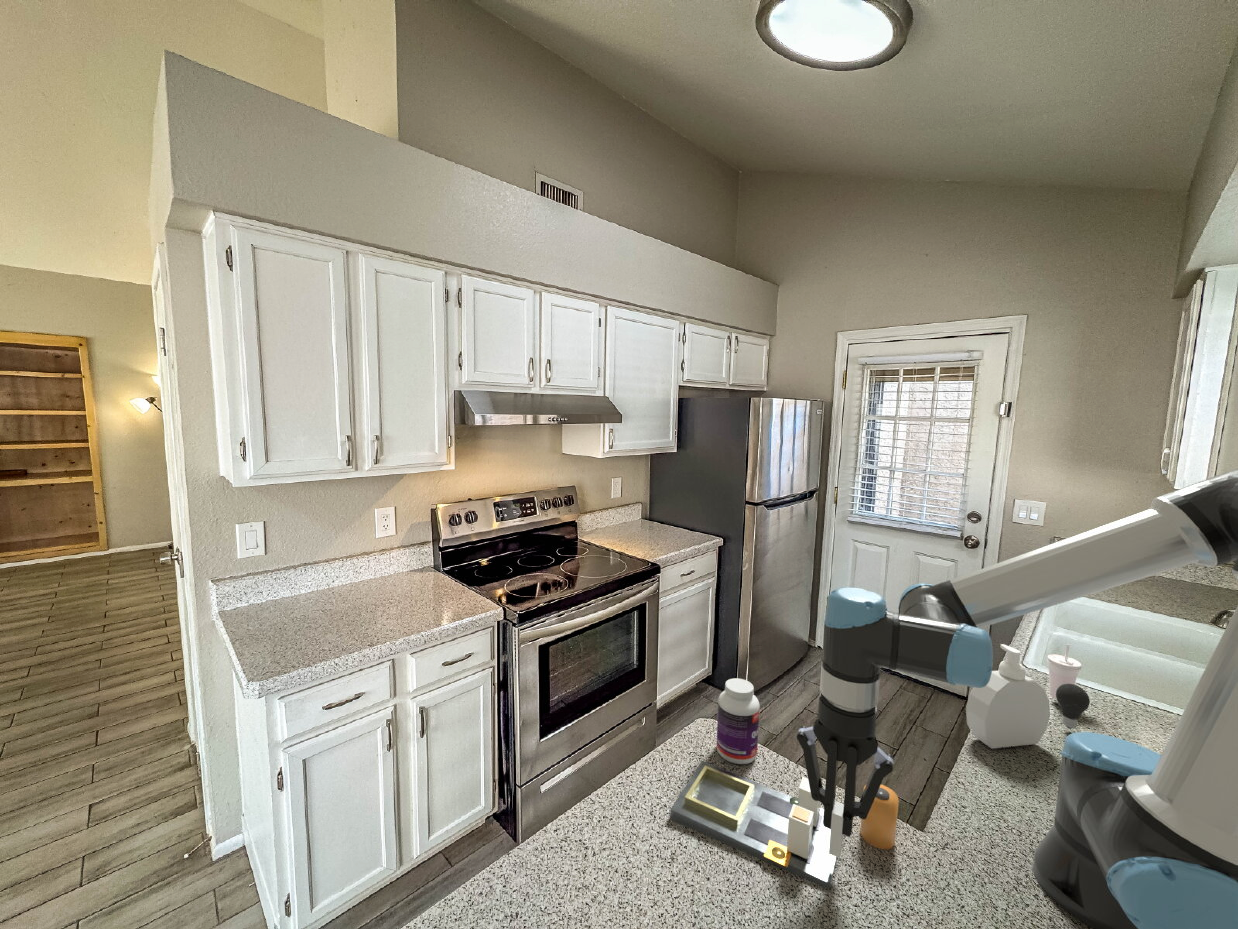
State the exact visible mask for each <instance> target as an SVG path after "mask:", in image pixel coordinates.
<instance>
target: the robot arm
mask: <svg viewBox="0 0 1238 929" xmlns="http://www.w3.org/2000/svg"><path fill="white" fill-rule="evenodd" d="M1231 562H1234V564H1233V567H1232V568H1231V573H1232V574H1233V576H1234V577H1235V579H1236V580H1237V581H1238V468H1236V469H1232V470H1229V471H1227V472H1224V473H1221V474H1218V475H1215V476H1211V477H1209V478H1206V479H1204V480H1200V481H1198V482H1194V483H1193V484H1189V485H1187V486H1184V487H1182V488H1178V489H1176V490H1173V491H1171V492H1168V493H1165V494H1162V495H1160V496H1157V497H1154V498H1152V502H1151V503H1150V506H1149V508H1148V509H1146V510H1143V511H1140V512H1138V513H1134V514H1132V515H1130V516H1126V517H1124V518H1121V519H1117V520H1115V521H1112V522H1109V523H1107V524H1104V525H1101V526H1098V527H1095V528H1092V529H1090V530H1087V531H1084V532H1082V533H1079V534H1078V533H1077V534H1075V535H1073V536H1070V537H1067V538H1064V539H1061V540H1058V541H1057V542H1056V541H1055V542H1053V543H1051V544H1047V545H1045V546H1042V547H1039V548H1036V549H1034V550H1031V551H1028V552H1025V553H1023V554H1020V555H1017V556H1015V557H1012V558H1011V557H1010V558H1008V559H1005V560H1002V561H1000V562H997V563H994V564H991V565H989V566H986V567H984V568H981V569H977V570H974V571H972V572H969V573H965V574H964V575H961V576H958V577H954V578H952V579H950V580H946V581H942V582H940V583H936V584H930V583H925V582H923V583H922V582H919V583H916V584H912V585H910V586H908V587H907V588H905V590H904V591H903V592H902V594H901V596H900V599H899V603H898V612H894V611H889V610H888V607H887V601H886V599H885V598H884V597H883V596H882V595H881V594H879V593H877V592H875V591H869V590H866V589H865V588H861V587H860V588H859V587H849V586H846V587H839V588H836V589H834V590H832V591H831V592H830V593H829V594H828V596H827V600H826V601H827V602H826V607H825V616H824V623H823V641H822V654H821V655H822V658H821V659H822V661H821V664H820V665H821V668H820V683H819V691H820V692H819V697H818V705H817V706H818V709H817V718H816V720H815V721H814V723H813V725H812V726H809V727H807V726H806V725H801V726H800V727H799V729H798V731H797V734H796V740H797V742H798V743H799V745H800V747H801V749H802V750H803V752H802V753H803V756H804V757H803V758H804V762H805V768H806V774H807V779H808V780H809V786H810V791H811V796H812V798H813V800H815V801H820V804H822V805H823V809H824V815H823V825H824V827H826V828H829V829H831V831H830V844H829V854H830V855H833V856H835V857H837V858H838V859H841V854H842V850H843V841H844V836H846V837H848V838H850V837H851V835H852V830H853V822H854V818H856V817H858V818H859V819H860V820H861V819H866V818H867V815H868V813H869V811H870V808H871V806H872V804H873V801H874V799H875V797H876V794H877V792H878V790H879V787H880V785H882V782H883V781H884V778H885V777H887V776H888V775H889V774H891V773H892V772H893V770H894V762H895V758H894V756H893V754H891V753H889V752H888V753H885V752H884V750H882V749H881V748H880V747H879V742H878V739H877V737H876V726H877V725H876V724H877V713H878V707H877V705H878V702H879V691H880V680H881V668H884V669H888V670H891V671H897V672H898V671H899V672H903V673H905V674H906V673H907V674H910V675H914V676H919V677H923V678H926V679H931V680H936V681H938V682H939V681H940V682H944V683H947V684H949V685H952V686H956V685H957V686H958V685H959V686H964V687H965V686H966V687H970V688H974V687H975V688H982V687H985V686H986V685H987V684H988V683H989V681H990V678H991V674H992V671H993V665H994V664H993V663H994V662H993V661H994V652H993V650H994V648H993V644H992V639H991V636H990V634H989V633H988V632H987V631H986V629H983V628H984V627H988V626H992V625H995V624H998V623H1001V622H1004V621H1008V620H1011V619H1014V618H1017V617H1021V616H1025V615H1026V614H1031V613H1033V612H1037V611H1041V610H1043V609H1047V608H1050V607H1053V606H1057V605H1060V604H1064V603H1068V602H1071V601H1073V600H1077V599H1081V598H1084V597H1086V596H1091V595H1093V594H1096V593H1100V592H1104V591H1106V590H1109V589H1114V588H1116V587H1119V586H1122V585H1126V584H1129V583H1132V582H1136V581H1139V580H1143V579H1146V578H1148V577H1152V576H1156V575H1160V574H1162V573H1166V572H1169V571H1173V570H1176V569H1179V568H1182V567H1185V566H1189V565H1192V564H1193V565H1199V566H1202V567H1206V568H1214V567H1217V566H1220V565H1224V564H1227V563H1231ZM816 740H817V741H818V742H819V744H820V746H821V748H822V749H823V751H824V753H825V754H826V755H827V758H826V774H825V788H824V787H823V781H822V777H821V770H820V766H819V759H818V753H817V748H816V743H815V742H816ZM1060 754H1061V763H1060V772H1059V777H1058V778H1059V779H1058V788H1057V795H1056V796H1057V797H1056V803H1055V804H1056V805H1055V806H1056V807H1055V813H1054V822H1053V825H1052V827H1051V828H1050V829H1049V831H1048V832H1047V833H1046V834H1045V836H1044V837H1043V839H1042V840H1041V841H1040V843H1039V844H1038V846H1037V847H1036V849H1035V851H1034V854H1033V863H1032V873H1033V875H1034V877H1035V879H1036V882H1037V883H1038V885H1039V886H1040V887H1041V889H1042V890H1043V891H1044V892H1045V893H1046V894H1047V896H1048V897H1050V898H1051V900H1052V901H1053V902H1055V903H1056V904H1057V905H1058V906H1059V907H1061V908H1062V909H1063V910H1064V912H1067V914H1069V915H1071V916H1072V917H1074V918H1075V919H1076V920H1078V921H1079V922H1081V923H1082V924H1084V925H1086V926H1088V927H1090V928H1091V929H1238V605H1237V606H1236V608H1235V610H1234V612H1233V614H1232V615H1231V618H1230V619H1229V622H1228V624H1227V625H1226V628H1225V630H1224V632H1223V633H1222V636H1221V637H1220V639H1219V642H1218V643H1217V646H1216V648H1215V649H1214V651H1213V653H1212V656H1211V657H1210V659H1209V661H1208V663H1207V665H1206V667H1205V670H1203V672H1202V675H1201V677H1200V678H1199V681H1198V683H1197V684H1196V686H1195V689H1194V690H1193V692H1192V694H1191V696H1190V698H1189V701H1188V702H1187V704H1186V706H1185V708H1184V710H1183V712H1182V713H1181V716H1180V718H1179V720H1178V722H1177V724H1176V725H1175V728H1174V730H1173V731H1172V733H1171V736H1170V737H1169V739H1168V741H1167V743H1166V745H1165V747H1164V750H1163V751H1162V753H1161V754H1160V753H1158V752H1156V751H1153V750H1152V749H1149V748H1147V747H1145V746H1142V745H1139V744H1138V743H1134V742H1131V741H1130V740H1129V741H1128V740H1126V739H1122V738H1120V737H1115V736H1112V735H1108V734H1103V733H1098V732H1089V731H1078V732H1071V733H1070V734H1068V735H1067V736H1066V737H1065V740H1064V745H1063V750H1060ZM873 756H874V757H873ZM871 757H873V765H874V766H873V768H872V771H871V774H870V775H869V777H868V781H867V783H866V784H867V785H866V784H865V785H866V787H865V789H864V788H863V790H864V792H863V791H862V794H861V797H860V799H859V801H856V792H857V791H856V790H857V789H856V788H857V781H858V780H857V776H858V766H860V765H862V764H863V763H864V762H866V761H867V760H869V759H870V758H871ZM839 762H842V763H844V764H845V765H846V771H845V784H844V785H845V786H844V796H843V797H844V800H843V803H842V802H839V801H837V800H836V795H837V794H836V793H837V781H838V780H837V779H838V770H839ZM837 858H836V859H837Z"/></svg>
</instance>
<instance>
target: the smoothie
mask: <svg viewBox="0 0 1238 929" xmlns="http://www.w3.org/2000/svg"><path fill="white" fill-rule="evenodd" d="M1069 650H1070V644H1069V643H1065V653H1064V655H1061V654H1056V653H1055V654H1048V655H1047V658H1046V661H1047V662H1048V680H1049V681H1048V682H1049V695H1050V697H1051V698H1052V699H1054V700H1056V701H1057V698H1056V691H1057V689H1058V687H1060V686H1061V685H1063V684H1074V685H1076V681H1077V678H1078V675H1079V672H1080V670H1082V663H1081V662H1080V661H1078V660H1077V659H1075V658H1072V657H1069Z"/></svg>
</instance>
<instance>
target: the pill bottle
mask: <svg viewBox="0 0 1238 929" xmlns="http://www.w3.org/2000/svg"><path fill="white" fill-rule="evenodd" d="M754 689H755V688H754V685H753V684H752V683H751V681H748V680H746V679H743V678H739V677H738V678H737V677H736V678H729V679H728V680H726V681H725V684H724V690H723V691H722V692H721V693H720V694H719V696H718V699H717V700H718V701H717V702H718V703H717V724H716V750H717V753H718V754H719V756H720V757H722V759H723V760H725V761H727V762H729V763H732V764H734V765H735V764H737V765H746V764H750V763H752V762H753V761H755V759H756V758H757V756H758V747H759V746H758V744H759V742H758V741H759V725H760V724H759V723H760V722H759V721H760V709H761V708H760V707H761V706H760V702H759V698H757V696H756V695H754V694H755V692H754Z"/></svg>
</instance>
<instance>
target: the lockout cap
mask: <svg viewBox="0 0 1238 929" xmlns="http://www.w3.org/2000/svg"><path fill="white" fill-rule="evenodd" d="M866 785H867V783H866V784H865V785H864V786H863V791H862V793H863V792H864V789H865V787H866ZM899 802H900V800H899V796H898V795H897V793H896V792H895V791H894V790H893V789H891V788H890V787H888V786H886V785H885V784H884V785H883V784H881V785H880V787H879V790H878V792H877V794H876V797H875V799H874V801H873V804H872V806H871V808H870V811H869V813H868V815H867V818H866V819H861V818H860V831H859V832H860V836H861V838H862V839H863V840H864V842H865V843H867V844H869V845H870V846H872V847H874V848H876V849H880V850H891V849H893V848H894V847H895V846H896V836H897V826H898V824H897V823H898V813H899Z"/></svg>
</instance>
